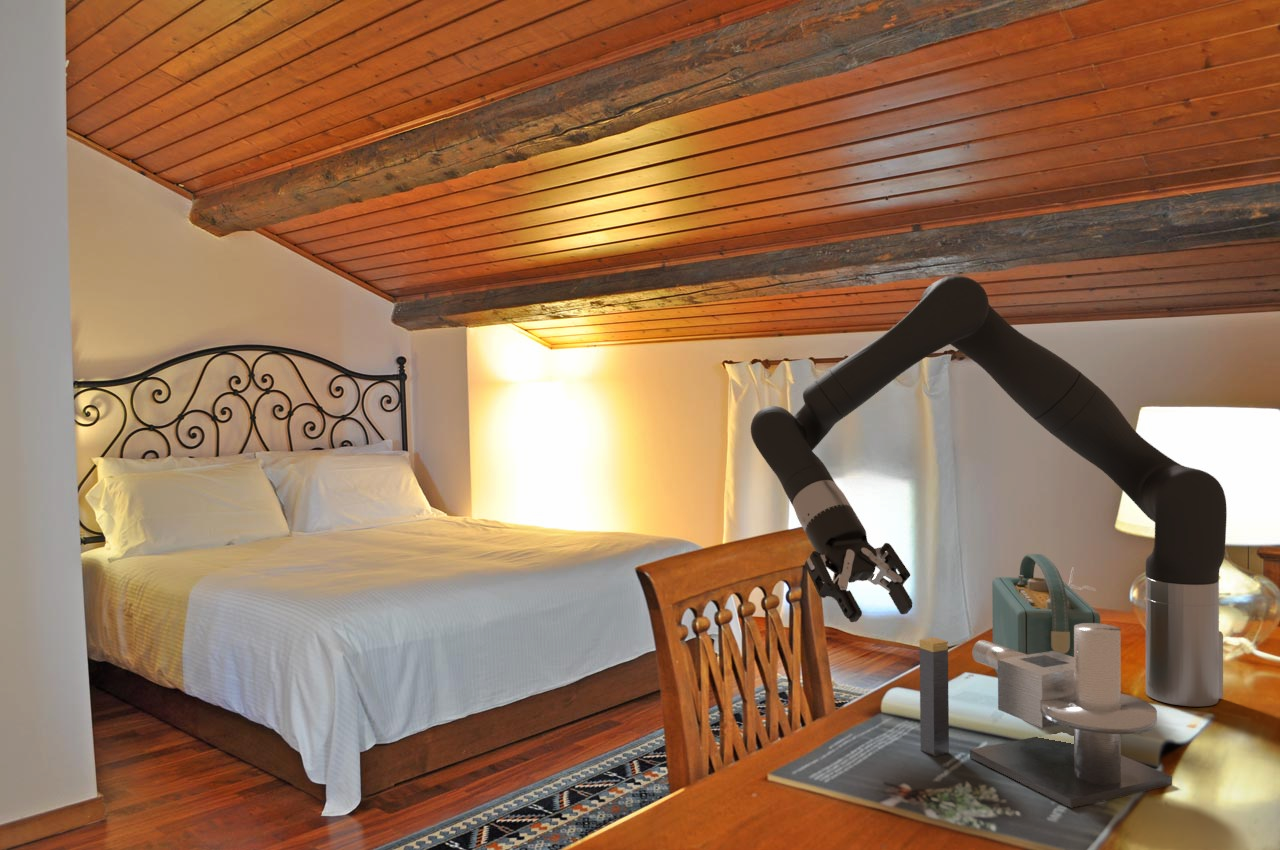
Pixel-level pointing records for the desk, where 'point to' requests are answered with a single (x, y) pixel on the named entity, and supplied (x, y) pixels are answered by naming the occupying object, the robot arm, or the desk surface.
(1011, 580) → the radio
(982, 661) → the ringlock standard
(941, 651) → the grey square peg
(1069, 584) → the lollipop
